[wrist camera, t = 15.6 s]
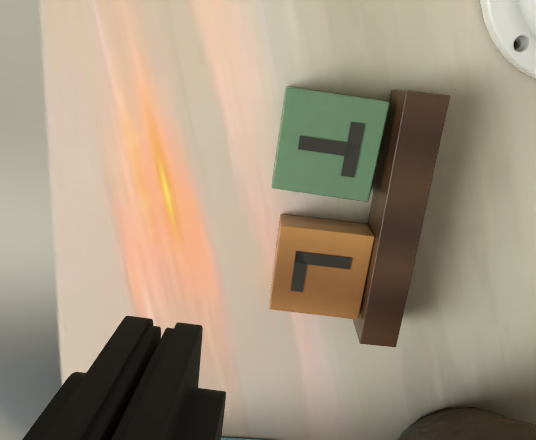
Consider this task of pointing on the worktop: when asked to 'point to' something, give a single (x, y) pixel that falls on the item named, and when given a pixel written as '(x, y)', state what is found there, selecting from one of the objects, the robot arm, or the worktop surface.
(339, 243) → the oak letter tile
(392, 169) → the walnut ledge
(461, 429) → the pitcher
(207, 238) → the worktop surface
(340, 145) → the sage letter tile
